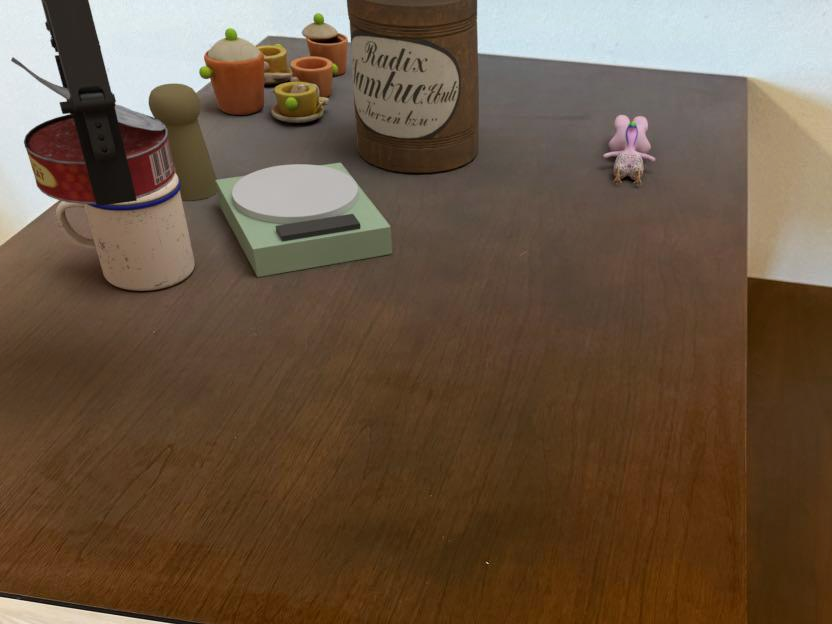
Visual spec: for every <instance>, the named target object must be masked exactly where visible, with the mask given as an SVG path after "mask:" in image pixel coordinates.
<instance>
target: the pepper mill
mask: <svg viewBox="0 0 832 624" xmlns="http://www.w3.org/2000/svg"><path fill="white" fill-rule="evenodd" d="M148 107H149V110H150V112H151V115H152V117H154V118H156V119H157V120H159V121H161V122H162V123H163V124H164V125H165V126H166V128H167V130H168V138H169V143H170V148H171V152H172V157H173V162H174V167H175V173H176V174H177V176H178V178H179V179H180V182H181V188H180V195H181V199H182V202H183V201H185V202H187V201H199V200H205V199H207V198H209V197H212V196H214V195H215V194H217V193H218V192H217V187H216V181H215V180H218V179H217V176H216V172H215V170H214V166H213V163H212V160H211V157H210V154H209V151H208V147H207V145H206V141H205V138H204V134H203V132H202V128H201V126H200V125H201V124H200V122H199V119H198V118H199V116H200V113H201V100H200V98H199V96H198V93H197V92H196V91H195V89H193V87H191V86H188V85H187V84H184V83H164V84H160V85H157V86H156V87H154V88H153V89H152V90H151V91H150V93H149V96H148Z"/></svg>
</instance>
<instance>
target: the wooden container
mask: <svg viewBox="0 0 832 624" xmlns="http://www.w3.org/2000/svg"><path fill="white" fill-rule="evenodd" d="M346 7H347V16H348V20H349V33H350V34H349V35H350V51H351V54H350V55H351V68H352V69H351V70H352V71H351V72H352V88H353V89H352V90H353V91H352V92H353V105H354V116H355V121H356V122H355V130H356V138H357V139H356V140H357V149H358V153H359V155H360V156H361V157H362V159H363V160H364V161H366V162H368V163H369V164H370V165H371V164H372V165H373V166H375V167H377V168H381V169H384V170H388V171H391V172H398V173H405V174H431V173H441V172H444V171H445V172H446V171H451V170H454V169H457V168H459V167H462V166H464V165H466V164H468V163H470V162H471V161H472V160H473V159H475V157H476V156H477V155H478V154H479V153H478V152H479V130H480V129H479V128H480V127H479V125H480V124H479V123H480V121H479V120H480V119H479V118H480V105H479V104H480V85H479V82H480V80H479V79H480V78H479V77H480V76H479V40H478V0H346Z"/></svg>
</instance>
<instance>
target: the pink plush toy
mask: <svg viewBox="0 0 832 624" xmlns="http://www.w3.org/2000/svg"><path fill="white" fill-rule="evenodd" d="M613 127H614V131H615V134H614V135H613V137H612V138H611V139H610V140H609V142H608V148H609V150H610V152H607V153H606V152H605V153H604V154H603V155H602V156H603V158H604V159H608V158H610V157H613V158H614V157H615V161H614V162H613V163H614V164H613V169H612V171H613V176H614V177H615V178H614V179H613V183H615V182H616V183H615V185H616V184H617V185H618V182H620V184H621V183H623V182H622V179H624V178H625V177H629V178H630V179H632V180H633V181H634V182H633V184H635V183H636V184H639V183H640V184H642V180H641V178H642V177H643V174H644V160H648V161H650V162H651V163H654V162H655V161H656V158H655V157H654V156H652V155H650V154H648V153H649V152H650V151H651V148H652V147H651V143H650V141H649V140H648V138H647V135H646V133H647V131H648V129H649V122H648V119H647V118H646V117H645V116H642V115H638V116H635V117H634V118H633V120H632V121H630V117H628V116H627V115H625V114H619V115H617V116H616V118H615V120H614V124H613Z"/></svg>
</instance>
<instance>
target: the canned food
mask: <svg viewBox="0 0 832 624" xmlns="http://www.w3.org/2000/svg"><path fill="white" fill-rule="evenodd" d="M11 62H12V63H14V64H15V65H17V66H18V67H20V68H21V69H23V70H25V71H26V72H27V73H28V74H29V75H30V76H32V77H33V78H34V79H35V80H36V81H38V82H39V83H40V84H42V85H44V86H45V87H46V88H48V89H49V90H51V91H53V92H55V93H56V94H58V95H59V96H60V97H63V98H64V99H65V100H66V99H67V100H69V98H70V94H69V90H68V89H67V88H64V87H63V86H60V85H58V84H54V83H52V82H50V81H48V80H47V79H44V78H42V77H41V76H40V75H39V76H38V75H37V74H36V73H34V72H33V71H32V70H30V69H29V68H28V67H27V66H25V65H24V64H23V63H22V62H21V61H19V60H17V58H15V57H14V56H12V57H11ZM67 100H66V101H67ZM115 105H116V106H115V110H116V115H117V119H118V123H119V127H120V131H121V136H122V140H123V144H124V148H125V153H126V157H127V161H128V165H129V170H130V174H131V178H132V182H133V186H134V191H135V195H136V199H137V198H140V197H143V196H146V195H149V194H152V193H154V192H156V191H158V190H160V189H162V188H163V187H165V186H166V185H167V184H168V183H169V182H170V181H171V180H172V179H173V177H174V175H175V167H174V162H173V157H172V152H171V148H170V143H169V138H168V130H167V128H166V126H165V125H164V124H163V123H162V122H161V121H159V120H157V119H156V118H154V116H151V115H148V114H144V113H142V112H138V111H136V110H133V109H130V108H128V107H126V106H123V105H119V104H116V103H115ZM23 144H24V148H25V150H26V153H27V156H28V160H29V162H30V166H31V169H32V173H33V176H34V180H35V183H36V187H37V188H38V189H39V190H40V192H41V193H42V194H43V195H46V196H48V197H49V198H51V199H55V200H57V201H60V202H62V201H65V202H70V203H79V204H96V201H95V197H94V194H93V190H92V186H91V182H90V179H89V175H88V171H87V167H86V164H85V160H84V156H83V152H82V149H81V145H80V141H79V137H78V134H77V130H76V126H75V122H74V119H73V115H72V114H70V113H69V114H64V115H61V116H57V117H54V118H52V119H48V120H46V121H44V122H41V123H39V124H38V125H36V126H34V127H33V128H31V129H30V130H29V131H28V132H27V133H26V135H25V137H24V140H23Z"/></svg>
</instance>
